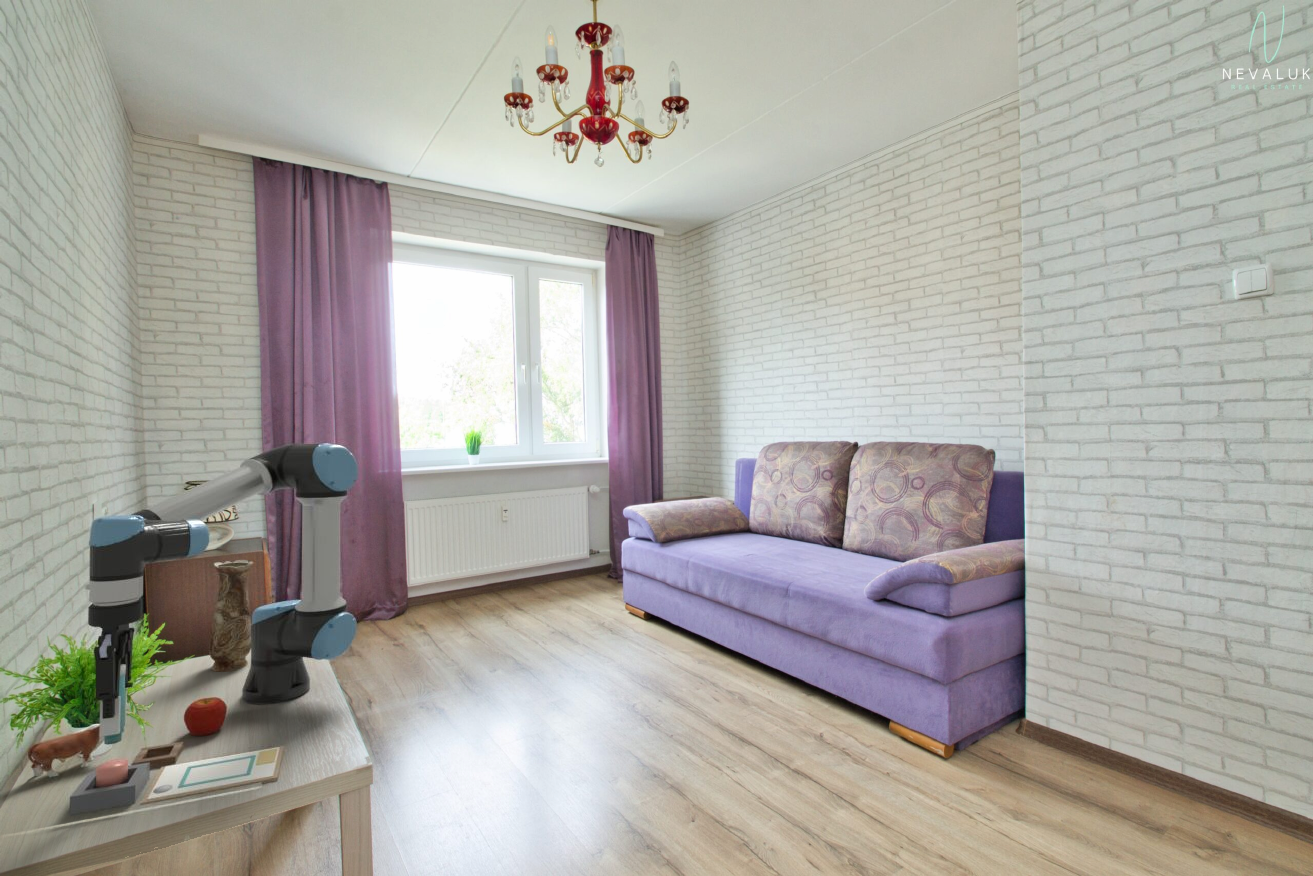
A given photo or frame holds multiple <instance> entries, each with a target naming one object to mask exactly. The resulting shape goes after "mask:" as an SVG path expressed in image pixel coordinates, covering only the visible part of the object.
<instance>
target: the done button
mask: <svg viewBox="0 0 1313 876" xmlns="http://www.w3.org/2000/svg"><path fill="white" fill-rule="evenodd" d="M128 766H129V760H128V759H125V758H118V759H112V760H109V761H106V762H103V763H100V765H97V767H96V770H95V771H96V787H98V788H102V787H108V786H113V785H118V784H120V783H122V782H124V781H126V780H127V778H128Z"/></svg>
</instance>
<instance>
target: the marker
mask: <svg viewBox="0 0 1313 876" xmlns="http://www.w3.org/2000/svg"><path fill="white" fill-rule="evenodd" d="M125 674H126V665H125V664H121V666H120V681H119V696H121V709H120V733H119V734H113V735H107V736H103V737H104V741H103V743H104V745H115V744H117V743H119V742H121V741H122V737H123V734H122V733H124V731H125V726H124V706H125V689H126V688H125Z"/></svg>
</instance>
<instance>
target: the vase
mask: <svg viewBox="0 0 1313 876" xmlns="http://www.w3.org/2000/svg"><path fill="white" fill-rule="evenodd" d="M253 565H254V562H253V561H252V560H251V561H248V560H247V559H238V560H237V559H236V560H235V561H232V562H231V561H229V560H227V561H225V562H214V563H213V566H214V569H215V570H216V572H217V573H218V577H219V579H218V581H219V582H218V591H217V597H216V602H215V607H214V613H213V617H212V618H213V619H212V622H211V623H212V624H211V628H210V633H209V641H208V651H209V656H210V658H211V660H212V661H214V662H213V665H212V666H211V670H212V671H215V672H229V671H234V670H238V669H241V668H245V667H246V666H247V665H248V664H249V663H248V661H247V656H248V655H249V654H250V653H251V623H252V616H251V611H250V602H249V601H250V600H249V590H248V573H249V571H250V569H251V568H252V566H253Z"/></svg>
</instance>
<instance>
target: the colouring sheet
mask: <svg viewBox="0 0 1313 876" xmlns="http://www.w3.org/2000/svg"><path fill="white" fill-rule="evenodd" d="M284 752H285V745H282V746H276V747H269V748H265V749H259V750H254V751H253V750H252V751H247V752H246V751H245V752H240V753H236V754H235V753H234V754H229V755H223V756H218V757H212V758H205V759H199V760H194V761H188V762H182V763H175V764H170V765H165V766H160V769H158V772H157V774H156V776H155V778H154V779H153V781H152V783H151V784H150V787H149V788H148V790H147V792H146V793H145V795H144V796H143V798H142V800H141V802H140V805H145V804H150V803H156V802H161V801H166V800H171V799H177V798H182V797H186V796H192V795H197V794H203V793H204V794H205V793H208V792H215V791H219V790H220V791H221V790H224V789H230V788H235V787H240V786H247V785H251V784H257V783H261V784H266V783H270V782H271V783H272V782H276V781H278V779H279V775H280V769H281V765H282V760H283V755H284Z"/></svg>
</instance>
